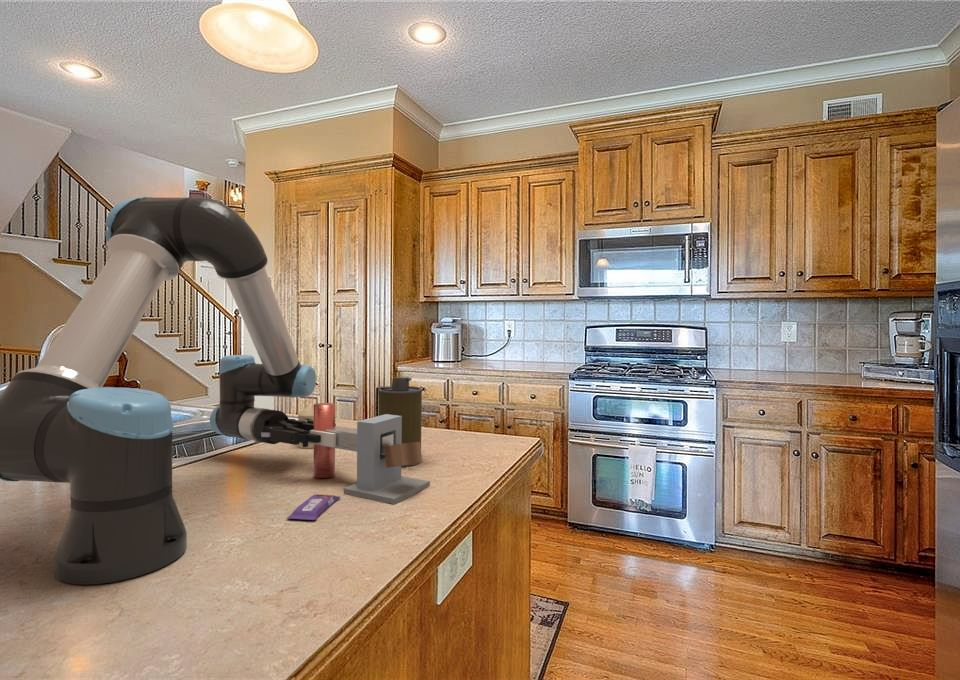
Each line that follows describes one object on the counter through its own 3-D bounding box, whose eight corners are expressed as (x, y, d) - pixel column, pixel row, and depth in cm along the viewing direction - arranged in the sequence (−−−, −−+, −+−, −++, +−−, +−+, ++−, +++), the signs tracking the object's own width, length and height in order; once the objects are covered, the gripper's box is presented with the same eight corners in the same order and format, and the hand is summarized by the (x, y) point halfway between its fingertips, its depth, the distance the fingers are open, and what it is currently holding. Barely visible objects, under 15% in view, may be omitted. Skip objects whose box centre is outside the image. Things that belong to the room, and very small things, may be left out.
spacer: (386, 468, 98) (402, 465, 97) (384, 446, 99) (399, 443, 97) (406, 465, 104) (422, 462, 102) (404, 444, 104) (419, 441, 102)
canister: (425, 456, 128) (426, 375, 127) (416, 468, 118) (417, 380, 117) (382, 454, 129) (383, 374, 128) (369, 466, 119) (370, 379, 118)
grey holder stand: (394, 504, 95) (394, 428, 94) (343, 493, 100) (343, 421, 100) (429, 486, 105) (430, 417, 105) (382, 477, 111) (382, 412, 110)
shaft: (380, 490, 101) (381, 413, 100) (308, 475, 109) (309, 405, 109) (394, 484, 105) (394, 410, 104) (324, 470, 113) (324, 402, 113)
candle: (324, 445, 137) (324, 408, 137) (307, 449, 133) (307, 411, 132) (310, 442, 140) (310, 406, 140) (293, 446, 136) (293, 408, 135)
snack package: (314, 514, 86) (285, 512, 86) (314, 525, 86) (286, 524, 87) (341, 491, 97) (315, 490, 98) (341, 501, 97) (315, 500, 98)
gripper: (295, 434, 126) (370, 446, 115) (231, 450, 111) (311, 465, 100) (295, 404, 126) (370, 413, 115) (231, 415, 111) (311, 427, 100)
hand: (343, 437), depth 108 cm, fingers closed on shaft, 4 cm apart
